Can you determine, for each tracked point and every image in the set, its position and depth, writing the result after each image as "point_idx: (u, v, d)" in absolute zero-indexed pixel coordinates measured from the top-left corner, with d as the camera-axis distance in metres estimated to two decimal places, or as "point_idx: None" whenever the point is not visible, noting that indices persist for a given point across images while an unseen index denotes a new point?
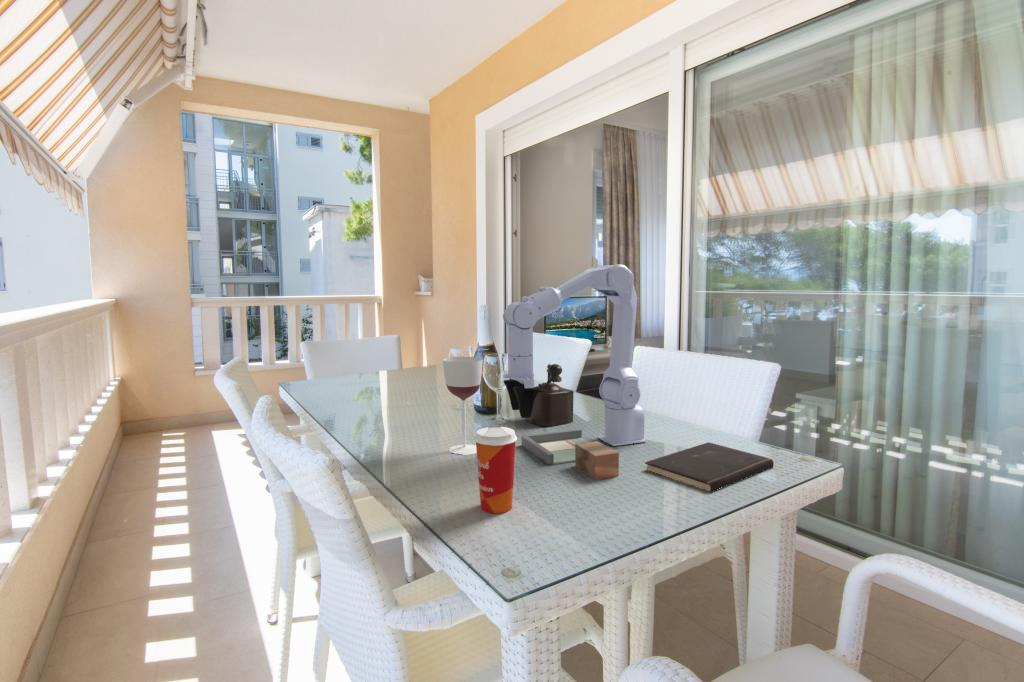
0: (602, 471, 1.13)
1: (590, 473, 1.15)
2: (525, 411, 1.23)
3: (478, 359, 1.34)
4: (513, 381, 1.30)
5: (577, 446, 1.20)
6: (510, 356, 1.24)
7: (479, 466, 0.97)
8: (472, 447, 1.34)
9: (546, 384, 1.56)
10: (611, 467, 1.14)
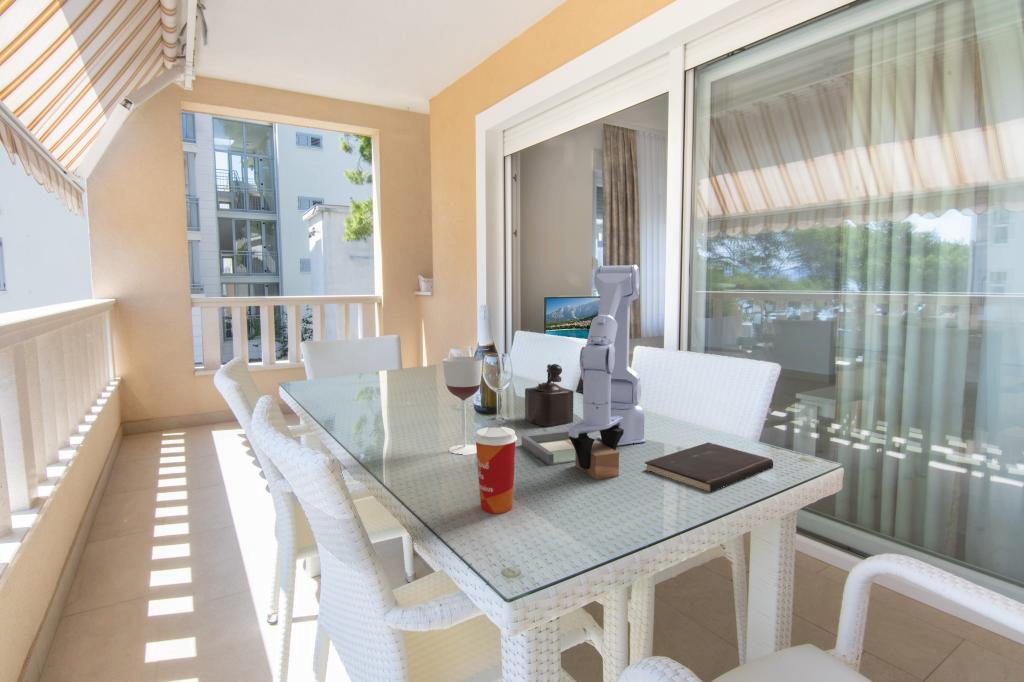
0: (602, 471, 1.13)
1: (590, 473, 1.15)
2: (582, 461, 1.15)
3: (478, 359, 1.34)
4: (605, 429, 1.20)
5: None
6: None
7: (479, 466, 0.97)
8: (472, 447, 1.34)
9: (546, 384, 1.56)
10: (611, 467, 1.14)
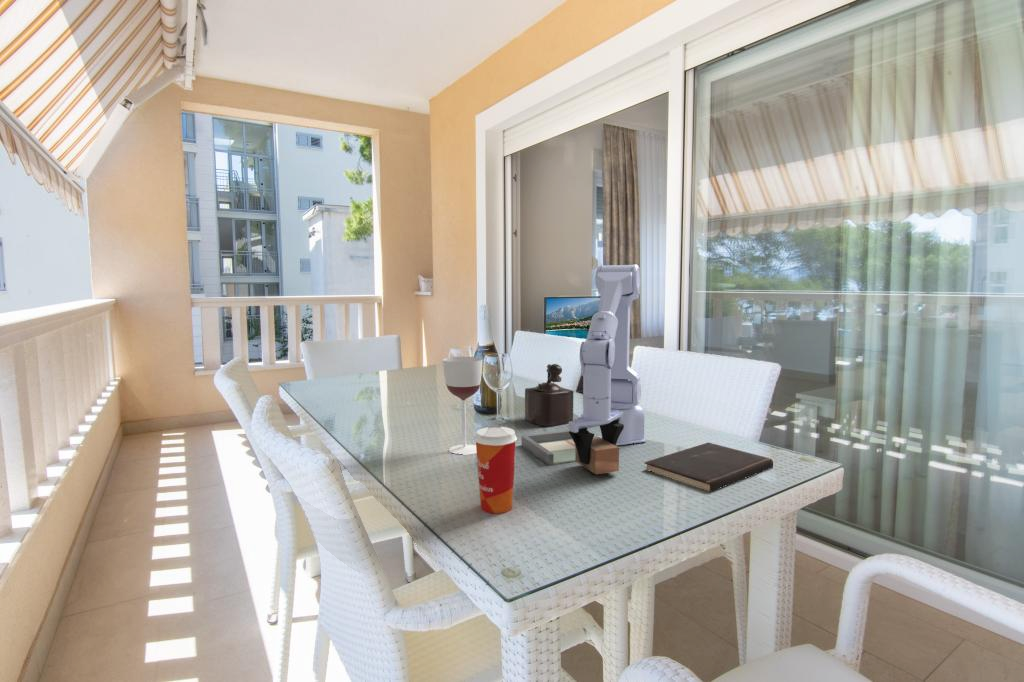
0: (602, 466, 1.13)
1: (590, 468, 1.15)
2: (582, 456, 1.15)
3: (478, 359, 1.34)
4: (605, 424, 1.20)
5: None
6: None
7: (479, 466, 0.97)
8: (472, 447, 1.34)
9: (546, 384, 1.56)
10: (611, 461, 1.14)
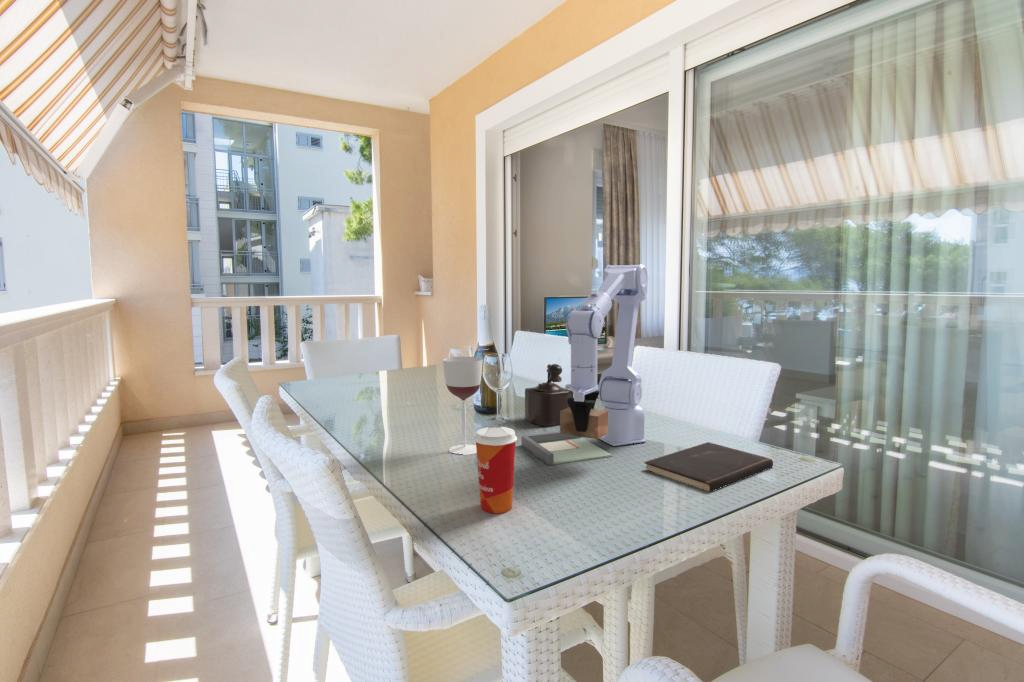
0: (600, 430, 1.18)
1: (588, 435, 1.18)
2: (580, 425, 1.17)
3: (478, 359, 1.34)
4: None
5: (564, 413, 1.21)
6: (571, 366, 1.20)
7: (479, 466, 0.97)
8: (472, 447, 1.34)
9: (546, 384, 1.56)
10: (604, 425, 1.20)
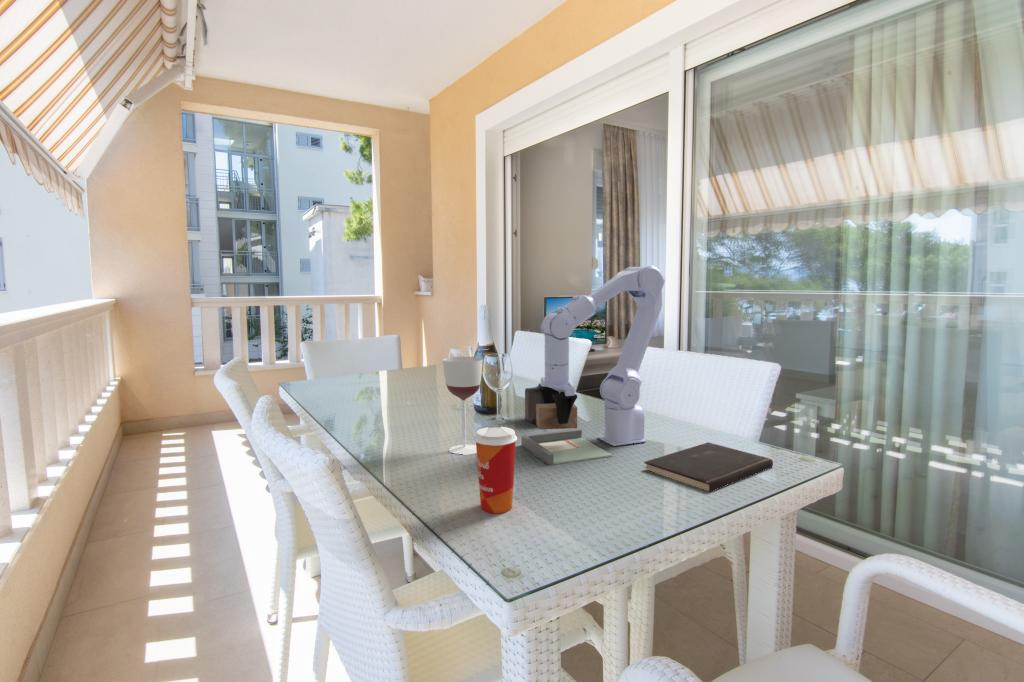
0: None
1: (568, 425, 1.30)
2: (563, 417, 1.29)
3: (478, 359, 1.34)
4: (547, 389, 1.35)
5: (543, 409, 1.29)
6: (548, 365, 1.29)
7: (479, 466, 0.97)
8: (472, 447, 1.34)
9: None
10: None
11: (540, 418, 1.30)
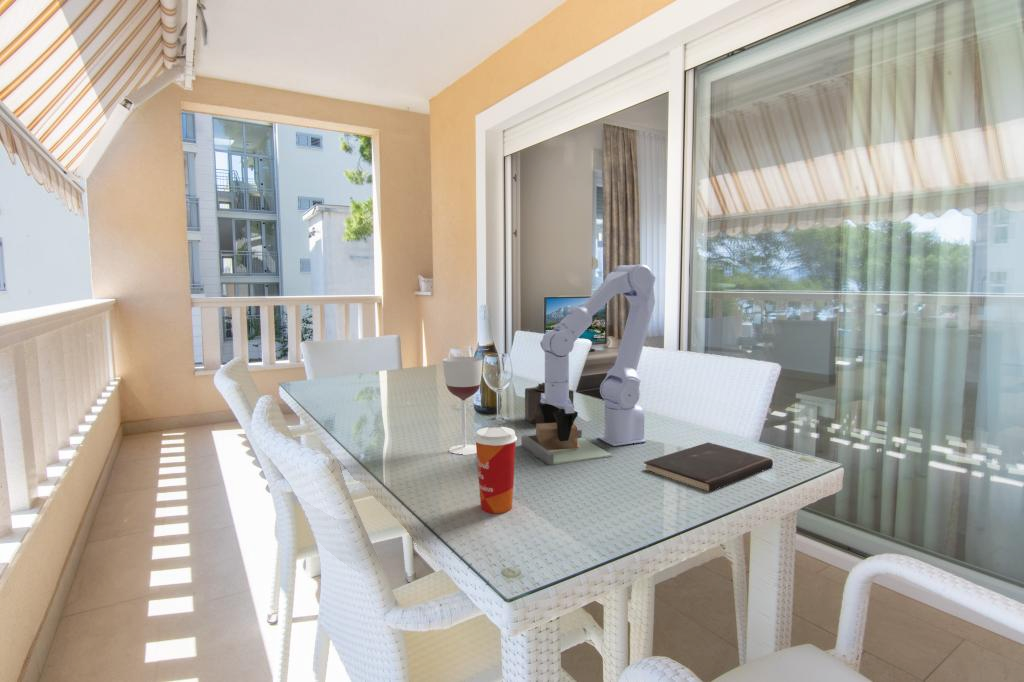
0: None
1: (568, 446, 1.31)
2: (564, 435, 1.29)
3: (478, 359, 1.34)
4: (547, 405, 1.36)
5: (543, 430, 1.30)
6: (548, 382, 1.30)
7: (479, 466, 0.97)
8: (472, 447, 1.34)
9: None
10: None
11: (540, 439, 1.30)
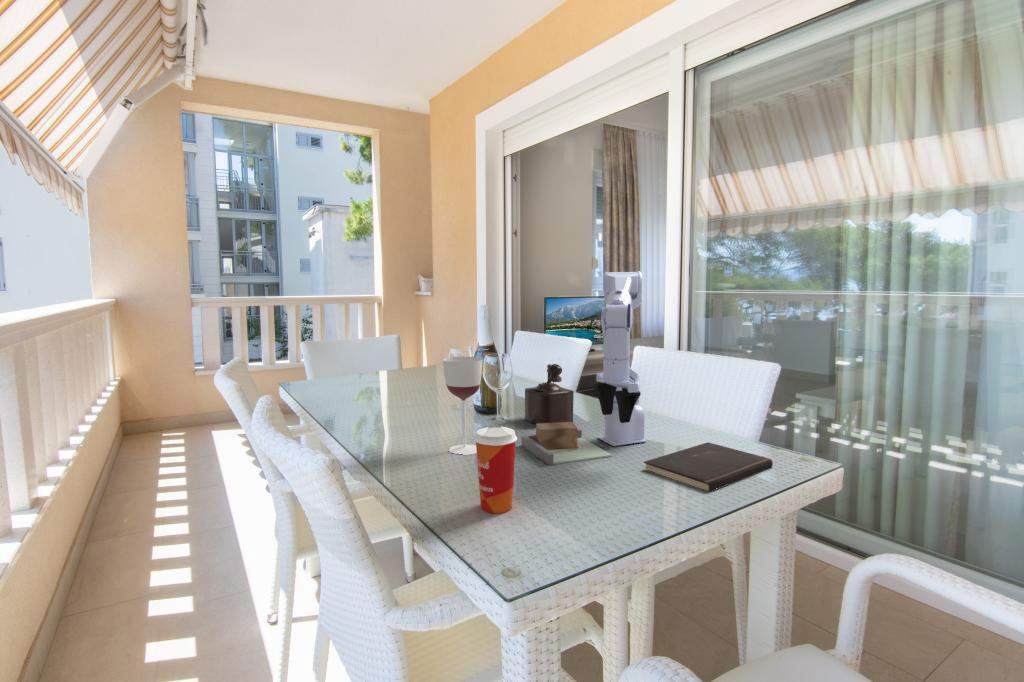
0: None
1: (568, 446, 1.31)
2: (625, 416, 1.20)
3: (478, 359, 1.34)
4: (604, 385, 1.27)
5: (543, 430, 1.30)
6: (608, 360, 1.21)
7: (479, 466, 0.97)
8: (472, 447, 1.34)
9: (546, 384, 1.56)
10: None
11: (540, 439, 1.30)
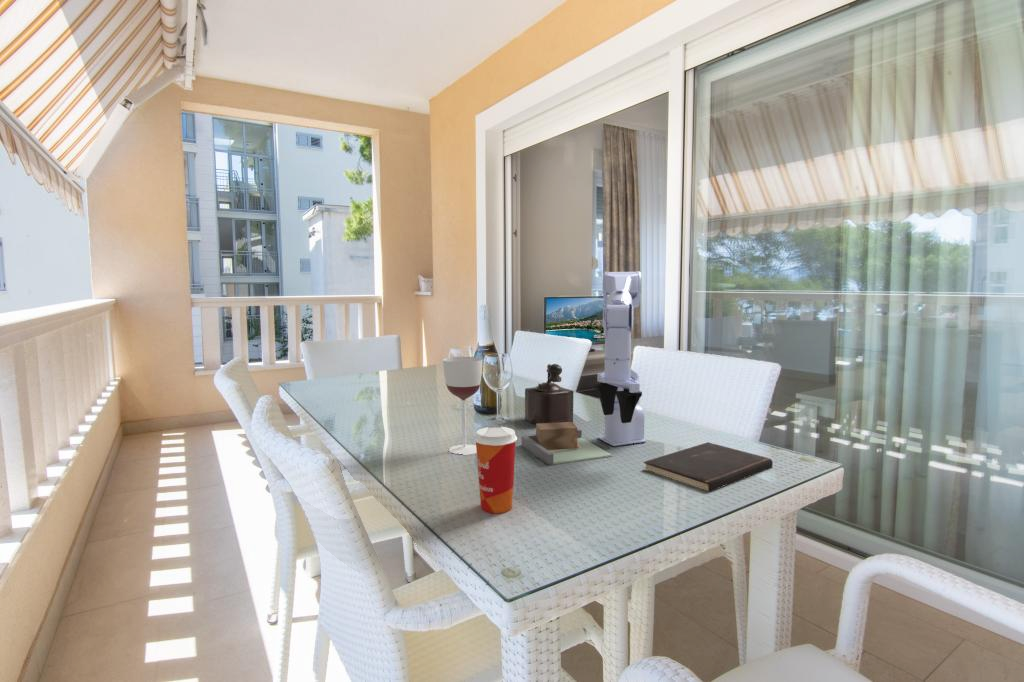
0: None
1: (568, 446, 1.31)
2: (626, 416, 1.20)
3: (478, 359, 1.34)
4: (605, 385, 1.27)
5: (543, 430, 1.30)
6: (609, 360, 1.21)
7: (479, 466, 0.97)
8: (472, 447, 1.34)
9: (546, 384, 1.56)
10: None
11: (540, 439, 1.30)
